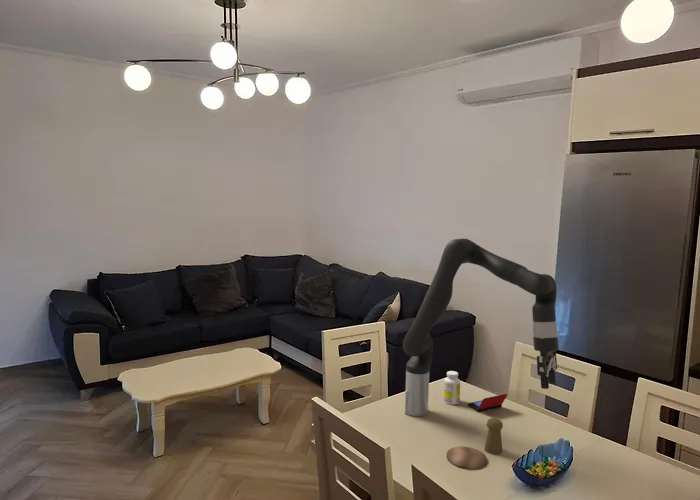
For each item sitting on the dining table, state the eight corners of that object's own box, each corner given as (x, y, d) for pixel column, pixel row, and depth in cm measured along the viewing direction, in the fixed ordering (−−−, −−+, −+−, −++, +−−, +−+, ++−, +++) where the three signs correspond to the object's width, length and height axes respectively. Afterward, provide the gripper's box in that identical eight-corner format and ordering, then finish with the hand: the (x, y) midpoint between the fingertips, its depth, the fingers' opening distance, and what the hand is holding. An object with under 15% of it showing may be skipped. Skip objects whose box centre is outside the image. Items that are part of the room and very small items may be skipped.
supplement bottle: (457, 398, 214) (458, 369, 213) (461, 405, 207) (462, 375, 206) (441, 398, 214) (442, 370, 212) (445, 405, 207) (446, 375, 206)
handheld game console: (490, 401, 212) (490, 384, 212) (507, 411, 203) (508, 393, 202) (466, 405, 207) (466, 388, 206) (483, 416, 198) (483, 398, 197)
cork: (503, 455, 167) (505, 424, 166) (485, 453, 168) (486, 422, 167) (501, 446, 173) (503, 416, 172) (483, 444, 174) (485, 415, 173)
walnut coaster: (448, 467, 159) (448, 465, 159) (445, 447, 172) (445, 445, 172) (489, 470, 158) (489, 468, 158) (483, 450, 171) (483, 447, 171)
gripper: (539, 333, 169) (542, 381, 168) (526, 337, 157) (530, 389, 156) (562, 333, 164) (566, 383, 163) (551, 338, 153) (555, 391, 152)
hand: (548, 386), depth 160 cm, fingers open, 8 cm apart
